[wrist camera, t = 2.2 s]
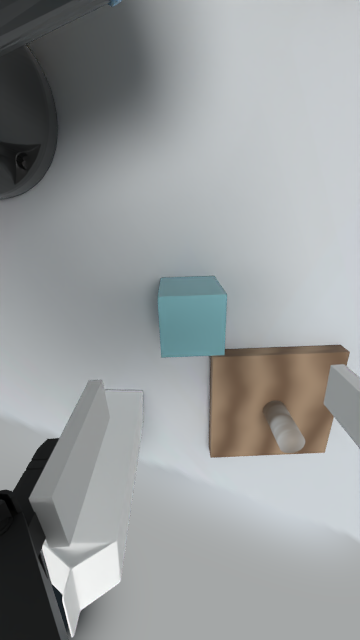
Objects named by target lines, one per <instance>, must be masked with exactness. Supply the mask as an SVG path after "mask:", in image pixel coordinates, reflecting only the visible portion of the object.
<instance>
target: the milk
mask: <svg viewBox="0 0 360 640" xmlns="http://www.w3.org/2000/svg"><path fill="white" fill-rule="evenodd" d="M105 395H106V400H107V405H108V410H109V415H110V419H109V422H108V425H107V429H106V432H105V435H104V438H103V441H102V445H101V448H100V451H99V454H98V457H97V461H96V464H95V467H94V470H93V474H92V477H91V480H90V483H89V486H88V490H87V493H86V496H85V499H84V502H83V506H82V509H81V512H80V515H79V518H78V522H77V525H76V528H75V531H74V534H73V538H72V541H71V544H70V547H55V548H49V546H48V544H47V541H46V539H45V541H44V544H43V546H42V550H43V554H44V557H45V561H46V565H47V568H48V572H49V575H50V579H51V583H52V584H53V585H54V586H55V587H56V588H57V589H58V590H59V591H60V592H61V593H62V594H63V598H62V601H63V605H64V609H65V613H66V617H67V621H68V625H69V629H70V633H71V637H74V634H75V630H76V626H77V621H78V618H79V614H80V611H81V610H82V609H83V608H85V607H86V606H87V605H89V604H90V603H92V602H93V601H95V600H96V599H97V598H99V597H100V596H102V595H103V594H104V593H106V592H107V591H109V590H110V589H111V588H113V587H114V586H116V585H117V584H118V583H120V581H121V575H122V568H123V561H124V554H125V547H126V540H127V533H128V526H129V519H130V512H131V505H132V498H133V491H134V484H135V477H136V470H137V463H138V456H139V449H140V442H141V435H142V428H143V391H142V390H105Z"/></svg>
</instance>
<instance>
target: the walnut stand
mask: <svg viewBox="0 0 360 640" xmlns="http://www.w3.org/2000/svg"><path fill="white" fill-rule="evenodd" d="M349 353H350V352H349V351H348V350H347V349H345V348H344V347H343V346H341V345H325V346H299V347H273V348H247V349H225V354H224V355H214V356H211V365H210V420H209V450H210V456H211V458H212V457H235V456H258V455H280V454H303V453H325V449H326V445H327V441H328V437H329V433H330V429H331V425H332V421H333V417H334V416H333V415H332V414H331V412H330V411H329V410H328V409H327V407H326V406H325V405H324V399H325V393H326V388H327V383H328V377H329V372H330V367H331V365H340V364H344V365H347V361H348V357H349Z"/></svg>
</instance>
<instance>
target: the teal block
mask: <svg viewBox="0 0 360 640" xmlns="http://www.w3.org/2000/svg"><path fill="white" fill-rule="evenodd" d="M226 305H227V294H226V292H225V291H224V289H223V288H222V286H221V285H220V284H219V282H218V281H217V279H216V278H215V276H197V277H168V278H161V281H160V286H159V291H158V313H159V328H160V344H161V358H163V357H188V356H214V355H224V354H225V329H226Z"/></svg>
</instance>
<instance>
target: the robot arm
mask: <svg viewBox="0 0 360 640" xmlns="http://www.w3.org/2000/svg"><path fill="white" fill-rule="evenodd" d="M121 1H122V0H0V199H1V198H9V197H14V196H17V195H20V194H22V193H24V192H26V191H28V190H29V189H31V188H32V187H33V186H35V185H36V184H37V183H38V182H39V181H40V180H41V178H42V177H43V176H44V174H45V173H46V171H47V170H48V168H49V166H50V164H51V161H52V159H53V156H54V152H55V148H56V142H57V115H56V109H55V104H54V100H53V96H52V93H51V90H50V87H49V84H48V82H47V79H46V77H45V75H44V73H43V71H42V69H41V67H40V65H39V63H38V62H37V60H36V58H35V57H34V55H33V54H32V52H31V51H30V50H29V48H28V47H27V46H26V45H25V44H27V43H29V42H31V41H33V40H35V39H37V38H39V37H41V36H43V35H45V34H47V33H49V32H51V31H53V30H55V29H57V28H59V27H61V26H63V25H65V24H67V23H69V22H71V21H73V20H75V19H77V18H79V17H81V16H83V15H85V14H87V13H89V12H91V11H93V10H95V9H97V8H99V7H101V6H104V5H106V4H108V5H110V6H111V7H113V6H115V5H117V4H118V3H120V2H121ZM324 405H325V406H326V407H327V409H328V410H329V411H330V412H331V414H332V415H333V416H334V417H335V419H336V420H337V421H338V422H339V423H340V425H341V426H342V427H343V428H344V430H345V431H346V432H347V433H348V435H349V436H350V437H351V438H352V440H353V441H354V442H355V443H356V445H357V446H358V447H359V448H360V377H358V376H357V375H356V374H355V373H354V372H353V371H351V370H350V369H349V368H348V367H347V366H346V365H344V364H340V365H331V367H330V372H329V377H328V383H327V388H326V393H325V399H324ZM109 419H110V415H109V410H108V405H107V400H106V395H105V390H104V385H103V381H102V380H89V381H88V383H87V385H86V387H85V389H84V391H83V393H82V395H81V397H80V399H79V401H78V403H77V405H76V407H75V409H74V411H73V413H72V415H71V417H70V419H69V421H68V423H67V424H66V426H65V428H64V430H63V432H62V434H61V436H60V438H55V439H47V440H46V441H45V442H44V443H43V444H42V445H41V446H40V447H39V448H38V449H37V451H36V453H35V454H34V456H33V458H32V461H31V462H30V463H29V465H28V466H27V468H26V471H25V472H24V473H23V475H22V477H21V478H20V480H19V482H18V484H17V485H16V487H15V489H14V490H13V492H12V491H9V490H1V491H0V640H69V639H68V636H67V633H66V630H65V627H64V623H63V620H62V617H61V614H60V611H59V608H58V605H57V602H56V598H55V595H54V592H53V589H52V586H51V583H50V580H49V576H48V573H47V570H46V567H45V564H44V561H43V558H42V555H41V553H40V551H41V549H42V546H43V544H44V541H45V539H46V541H47V544H48V546H49V548H55V547H70V544H71V541H72V538H73V534H74V531H75V528H76V525H77V522H78V518H79V515H80V512H81V509H82V506H83V502H84V499H85V496H86V493H87V490H88V486H89V483H90V480H91V477H92V474H93V470H94V467H95V464H96V461H97V457H98V454H99V451H100V448H101V445H102V441H103V438H104V435H105V432H106V429H107V425H108V422H109Z"/></svg>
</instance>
